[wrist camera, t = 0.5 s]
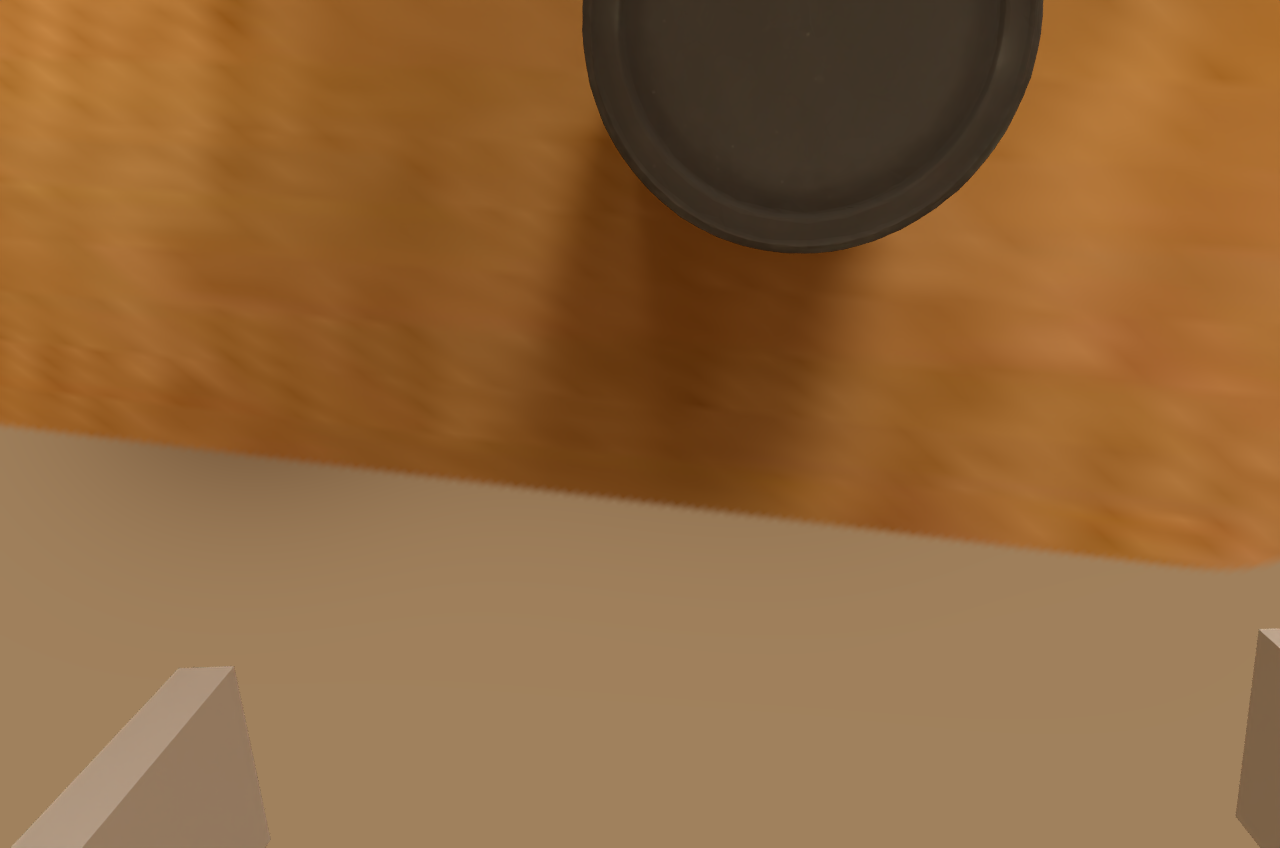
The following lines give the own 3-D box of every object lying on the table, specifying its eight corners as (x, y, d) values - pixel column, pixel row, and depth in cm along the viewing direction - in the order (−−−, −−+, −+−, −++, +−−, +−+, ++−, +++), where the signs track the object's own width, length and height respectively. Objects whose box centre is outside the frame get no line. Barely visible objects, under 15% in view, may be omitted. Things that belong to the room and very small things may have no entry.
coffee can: (962, 108, 36) (1125, 94, 22) (717, 261, 38) (732, 335, 24) (818, -161, 34) (904, -356, 20) (567, 17, 36) (491, -51, 22)
